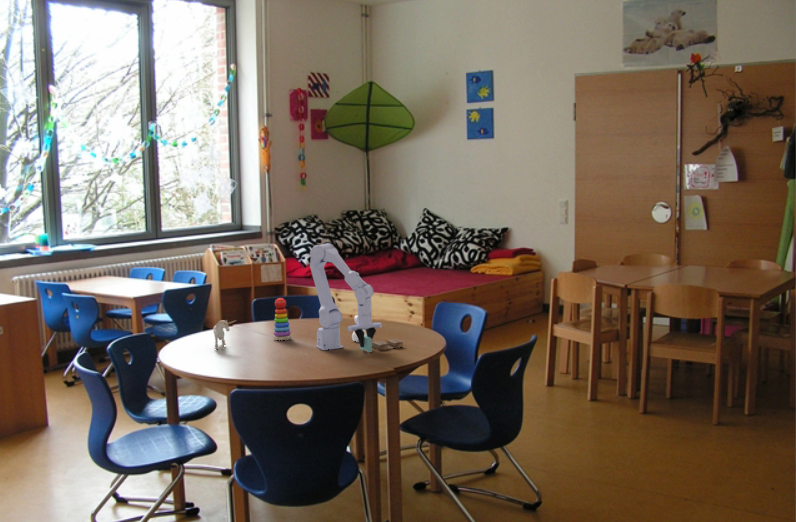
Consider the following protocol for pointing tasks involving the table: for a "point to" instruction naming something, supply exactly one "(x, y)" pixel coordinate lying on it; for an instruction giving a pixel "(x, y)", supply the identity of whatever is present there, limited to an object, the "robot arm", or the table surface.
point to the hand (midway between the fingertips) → (365, 346)
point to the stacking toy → (281, 321)
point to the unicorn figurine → (220, 332)
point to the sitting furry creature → (354, 331)
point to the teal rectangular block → (367, 344)
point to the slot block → (387, 344)
